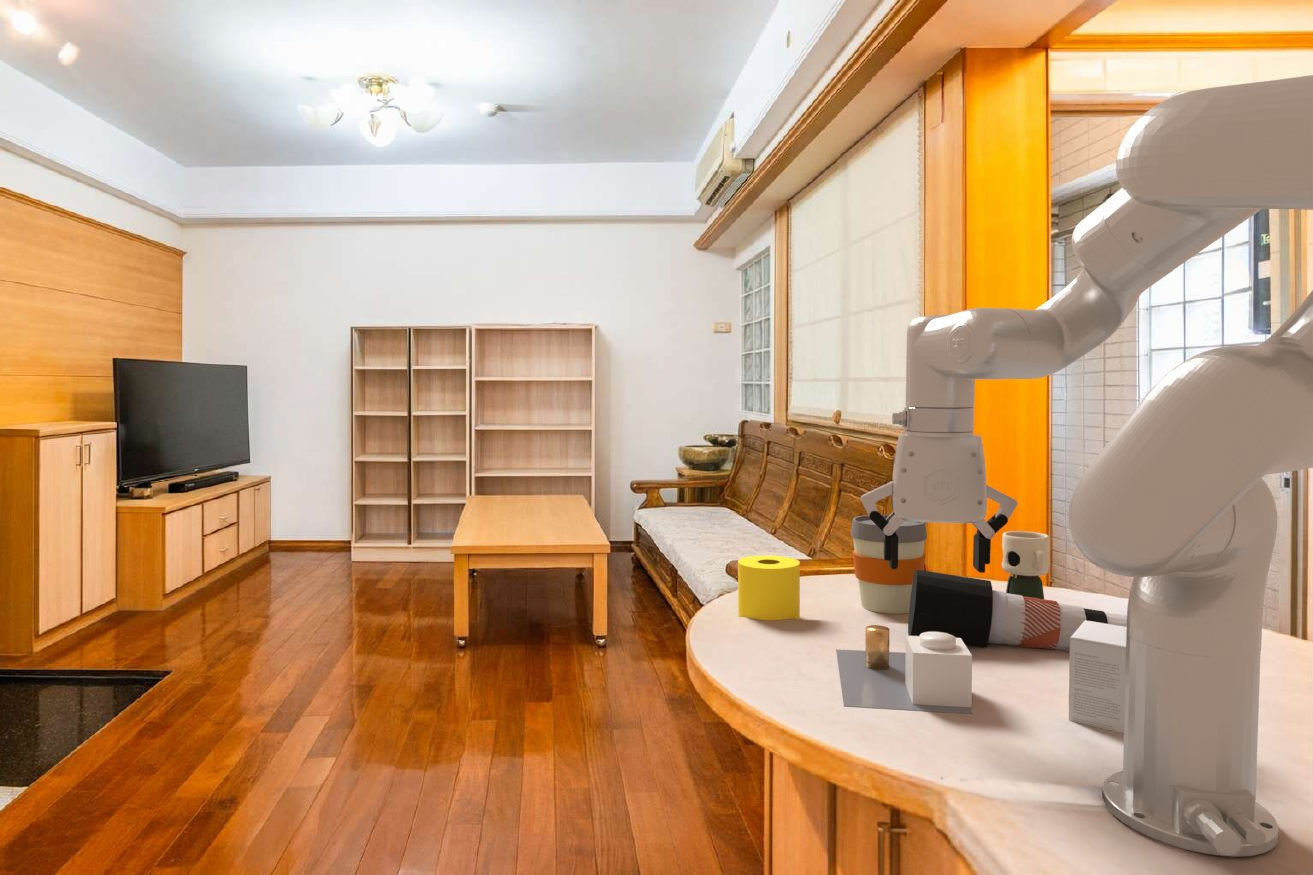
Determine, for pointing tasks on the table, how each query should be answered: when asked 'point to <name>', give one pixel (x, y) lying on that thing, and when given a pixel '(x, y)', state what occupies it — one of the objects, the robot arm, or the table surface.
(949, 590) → the black and white bottle
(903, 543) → the reusable coffee cup
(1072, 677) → the small box
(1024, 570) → the character mug
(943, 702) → the white push button box
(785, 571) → the yellow toilet paper roll
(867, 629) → the brass cylinder
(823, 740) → the table surface
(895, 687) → the plate
